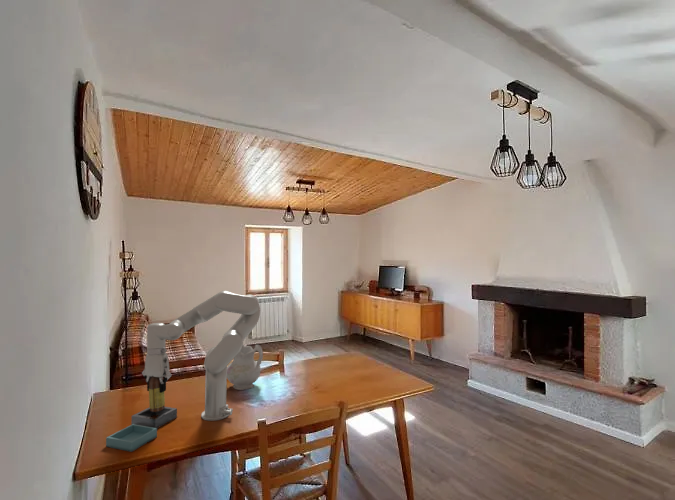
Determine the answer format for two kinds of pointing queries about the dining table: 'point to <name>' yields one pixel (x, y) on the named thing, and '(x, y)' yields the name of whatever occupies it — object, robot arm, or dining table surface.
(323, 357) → the dining table surface
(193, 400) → the dining table surface
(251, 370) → the ceramic pitcher
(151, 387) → the sauce bottle
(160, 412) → the steel collar
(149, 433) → the teal tray
